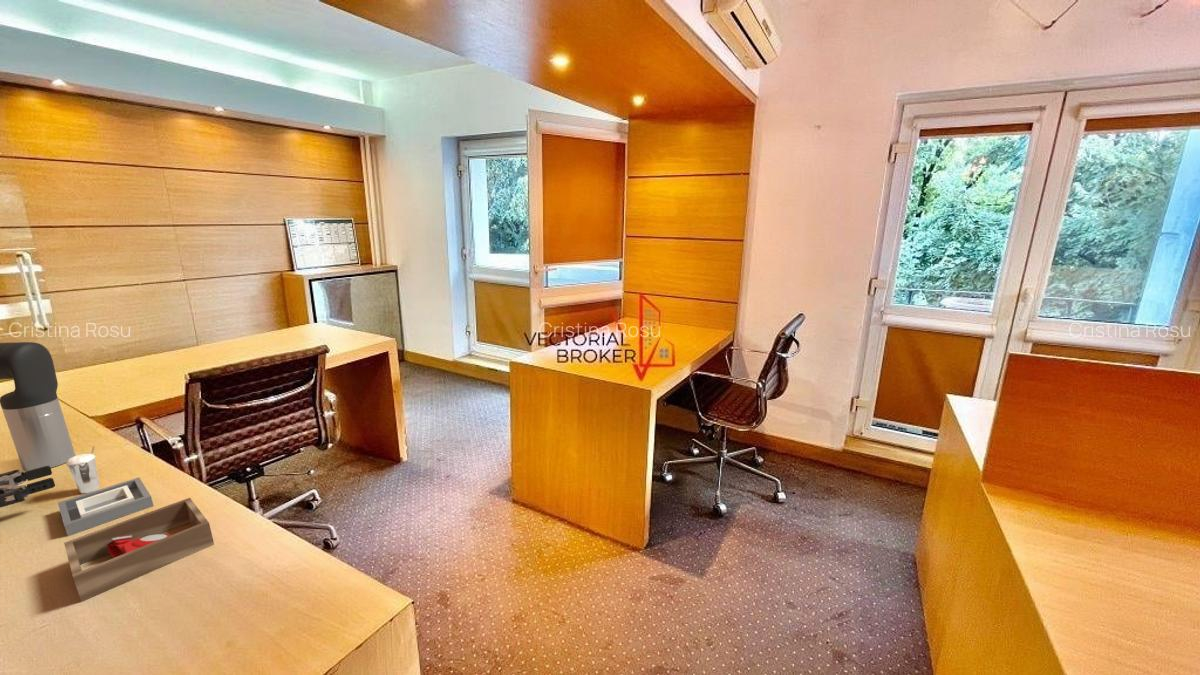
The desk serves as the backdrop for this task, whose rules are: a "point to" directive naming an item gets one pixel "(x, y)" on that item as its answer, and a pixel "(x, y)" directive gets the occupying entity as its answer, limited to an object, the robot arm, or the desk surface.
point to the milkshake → (84, 472)
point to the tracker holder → (130, 543)
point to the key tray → (143, 557)
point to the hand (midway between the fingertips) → (52, 475)
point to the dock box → (104, 505)
